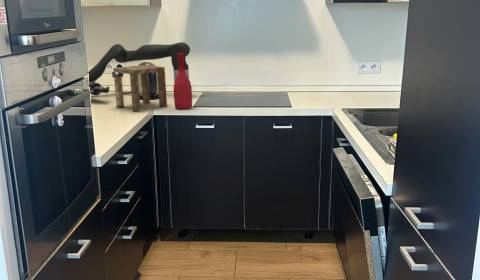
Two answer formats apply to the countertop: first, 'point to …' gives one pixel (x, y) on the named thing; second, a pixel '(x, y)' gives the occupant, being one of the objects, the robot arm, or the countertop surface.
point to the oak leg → (119, 91)
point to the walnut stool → (144, 83)
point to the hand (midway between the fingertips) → (107, 91)
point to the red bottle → (182, 87)
